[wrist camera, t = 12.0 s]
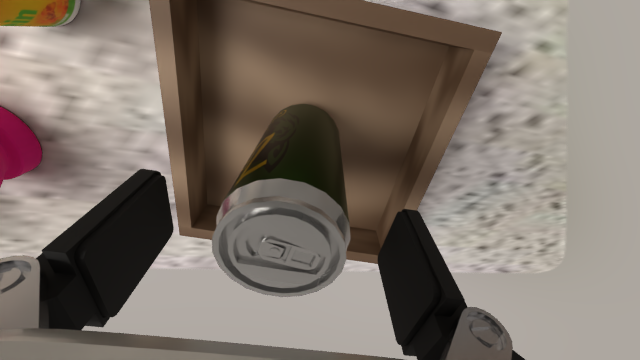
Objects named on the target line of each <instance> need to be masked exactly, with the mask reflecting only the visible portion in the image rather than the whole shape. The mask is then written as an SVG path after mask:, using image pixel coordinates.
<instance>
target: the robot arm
mask: <svg viewBox="0 0 640 360" xmlns="http://www.w3.org/2000/svg"><path fill="white" fill-rule="evenodd" d="M172 233H173V222H172V216H171V210H170V204H169V198H168V192H167V186H166V180H165V177H164V176H161V174H160V172H158V171H153V170H146V169H140V170H139V171H137V172H136V173H135V174H134V175H133V176H131V177H130V178H129V179H128V180H127V181H125V182H124V183H123V184H122V185H120V186H119V187H118V188H117V189H116V190H114V191H113V192H112V193H111V194H109V195H108V196H107V197H106V198H105V199H103V200H102V201H101V202H100V203H99V204H97V205H96V206H95V207H94V208H92V209H91V210H90V211H89V212H88V213H86V214H85V215H84V216H83V217H82V218H80V219H79V220H78V221H77V222H75V223H74V224H73V225H72V226H71V227H69V228H68V229H67V230H66V231H64V232H63V233H62V234H61V235H60V236H58V237H57V238H56V239H55V240H54V241H52V242H51V243H50V244H49V245H47V246H46V247H45V248H44V249H43V250H42V252H43V253H42V254H41V255H40V256H38V257H37V258H36V259H35V258H34V257H30V256H25V255H23V256H11V257H6V258H1V259H0V360H403V359H395V358H386V357H377V356H366V355H357V354H346V353H335V352H326V351H314V350H305V349H294V348H283V347H272V346H261V345H250V344H238V343H228V342H216V341H206V340H194V339H182V338H171V337H159V336H148V335H135V334H124V333H110V332H96V331H82V328H83V327H84V326H95V327H104V325H105V324H106V322H107V321H108V320H109V318H110V317H114V316H115V315H117V313H118V312H119V311H120V309H121V308H122V306H123V305H124V304H125V302H126V301H127V299H128V298H129V296H130V295H131V293H132V292H133V291H134V289H135V288H136V286H137V285H138V283H139V282H140V281H141V279H142V278H143V276H144V275H145V273H146V272H147V270H148V269H149V268H150V266H151V265H152V263H153V262H154V260H155V259H156V257H157V256H158V255H159V253H160V252H161V250H162V249H163V247H164V246H165V244H166V243H167V242H168V240H169V239H170V237H171V236H172ZM378 266H379V270H380V274H381V279H382V283H383V287H384V291H385V295H386V299H387V304H388V308H389V311H390V316H391V320H392V325H393V329H394V333H395V337H396V341H397V343H398V344H399V345H401V346H402V350H403V354H404V355H409V356H417V359H418V360H525V359H524V358H522V357H521V356H520V355H518V354H517V353H516V352H515V351H513V350H512V349H513V347H512V340H511V338H510V336H509V333H508V332H507V330H506V329H505V328H504V326H503V325H502V324H501V323H500V322H499V321H498V320H497V319H496V318H495V317H494V316H492V315H491V314H490V313H488V312H486V311H484V310H482V309H479V308H476V307H467V305H466V303H465V301H464V298H463V296H462V294H461V292H460V290H459V288H458V286H457V284H456V283H455V281H454V279H453V277H452V275H451V273H450V271H449V269H448V267H447V265H446V263H445V261H444V259H443V257H442V255H441V254H440V252H439V250H438V248H437V246H436V244H435V242H434V240H433V238H432V236H431V234H430V232H429V230H428V229H427V227H426V225H425V223H424V221H423V219H422V217H421V215H420V213H419V212H418V211H416V210H410V209H403V210H402V211H401V212H400V211H399V212H397V214H396V216H395V219H394V221H393V223H392V225H391V227H390V230H389V232H388V234H387V236H386V239H385V241H384V243H383V245H382V248H381V250H380V252H379V254H378Z"/></svg>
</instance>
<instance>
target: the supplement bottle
mask: <svg viewBox="0 0 640 360" xmlns="http://www.w3.org/2000/svg"><path fill="white" fill-rule="evenodd" d="M80 2H81V0H0V26H39V27H51V26H62V25H65V24H67V23H69V22H71V21H72V20H73V19H74V18H75V16H76V15H77V13H78V11H79V8H80Z"/></svg>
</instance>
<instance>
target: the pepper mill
mask: <svg viewBox="0 0 640 360" xmlns="http://www.w3.org/2000/svg"><path fill="white" fill-rule="evenodd" d="M41 158H42V150H41V146H40V143H39V142H38V140H37V138H36V136H35V134H34V133H33V132H32V131H31V130H30V128H29V127H28V126H27V125H26V124H25V123H24V122H23V121H21V120H20V119H19V118H18V117H17V116H15V115H14V114H12V113H11V112H9V111H8V110H6V109H4V108H2V107H0V187H1V184H2V182H3V180H7V179H12V178H15V177H18V176H20V175H22V174H24V173H26V172H28V171H30V170H32V169H34V168H36V167H37V166H38V165H39V163H40V162H41Z"/></svg>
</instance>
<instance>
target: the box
mask: <svg viewBox="0 0 640 360" xmlns="http://www.w3.org/2000/svg"><path fill="white" fill-rule="evenodd" d="M149 3H150V11H151V18H152V26H153V34H154V41H155V49H156V57H157V64H158V72H159V80H160V87H161V95H162V103H163V110H164V118H165V126H166V133H167V141H168V148H169V156H170V164H171V171H172V179H173V187H174V194H175V202H176V210H177V217H178V225H179V233H180V235H182V236H189V237H196V238H203V239H210V240H212V236H213V234H214V232H215V229H216V216H217V214H218V212H219V210H220V207H221V205H222V203H223V201H224V199H225V197H226V196H227V194H228V193H229V191H230V189H231V188H232V186H233V184H234V183H235V181H236V179H237V178H238V176H239V174H240V173H241V171H242V169H243V168H244V166H245V164H246V163H247V161H248V159H249V158H250V156H251V154H252V153H253V151H254V149H255V148H256V146H257V144H258V143H259V141H260V139H261V138H262V136H263V135H264V133H265V131H266V130H267V128H268V126H269V125H270V123H271V121H272V120H273V118H274V117H275V116H276V115H277V114H278V113H279V112H280V111H281V110H283V109H285V108H287V107H289V106H291V105H296V104H308V105H313V106H317V107H318V108H320V109H322V110H324V111H325V112H327V113H328V114H329V116H330V117H331V118H332V119H333V120H334V121H335V124H336V126H337V128H338V130H339V138H340V147H341V155H342V164H343V173H344V181H345V190H346V199H347V207H348V216H349V226H350V238H351V239H350V242H349V245H348V248H347V251H346V259H348V260H354V261H361V262H368V263H375V264H378V254H379V252H380V250H381V248H382V245H383V243H384V241H385V239H386V236H387V234H388V232H389V230H390V227H391V225H392V223H393V221H394V219H395V216H396V214H397V212H399V211H400V212H401V211H402V210H403V209H410V210H416V211H417V209H418V207H419V204H420V202H421V200H422V198H423V196H424V194H425V192H426V190H427V188H428V186H429V184H430V182H431V179H432V177H433V175H434V173H435V171H436V169H437V167H438V165H439V163H440V161H441V159H442V157H443V154H444V152H445V150H446V148H447V146H448V144H449V142H450V140H451V138H452V136H453V134H454V132H455V129H456V127H457V125H458V123H459V121H460V119H461V117H462V115H463V113H464V111H465V109H466V107H467V104H468V102H469V100H470V98H471V96H472V94H473V92H474V90H475V88H476V86H477V84H478V81H479V79H480V77H481V75H482V73H483V71H484V69H485V67H486V65H487V63H488V61H489V59H490V56H491V54H492V52H493V50H494V48H495V46H496V44H497V42H498V40H499V38H500V36H501V34H502V32H498V31H494V30H489V29H485V28H480V27H476V26H472V25H467V24H463V23H459V22H454V21H450V20H446V19H441V18H437V17H433V16H428V15H424V14H419V13H415V12H411V11H406V10H402V9H398V8H393V7H389V6H385V5H380V4H376V3H372V2H367V1H363V0H149Z"/></svg>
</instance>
